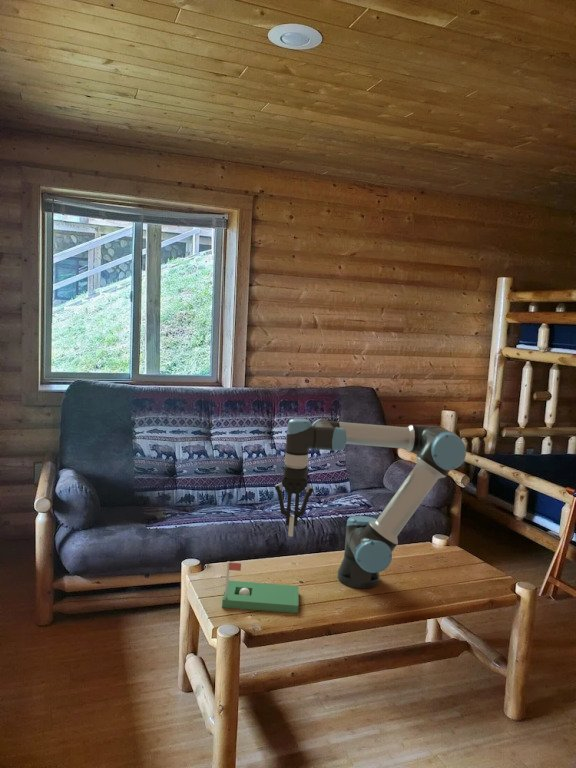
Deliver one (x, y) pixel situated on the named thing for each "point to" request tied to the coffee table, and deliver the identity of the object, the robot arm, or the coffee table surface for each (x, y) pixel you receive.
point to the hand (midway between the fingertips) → (290, 534)
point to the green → (262, 597)
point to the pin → (229, 567)
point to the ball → (244, 591)
